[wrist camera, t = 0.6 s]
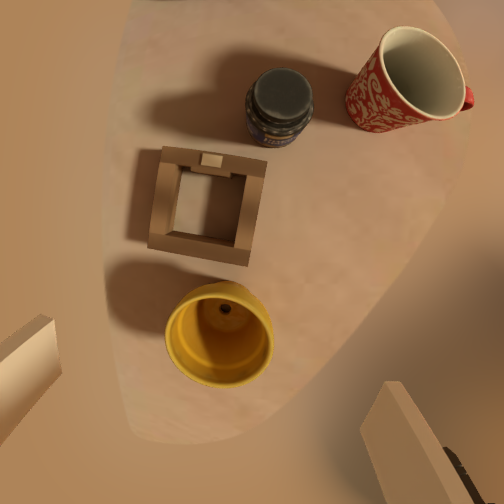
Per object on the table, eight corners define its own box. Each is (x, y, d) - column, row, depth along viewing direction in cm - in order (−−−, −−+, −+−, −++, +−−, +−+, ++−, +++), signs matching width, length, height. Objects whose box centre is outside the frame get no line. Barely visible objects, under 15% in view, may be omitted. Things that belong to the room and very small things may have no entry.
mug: (335, 134, 32) (381, 103, 18) (337, 66, 30) (375, 12, 17) (425, 153, 32) (494, 142, 18) (424, 90, 30) (485, 59, 17)
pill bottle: (262, 157, 32) (266, 141, 21) (237, 112, 31) (229, 78, 20) (310, 134, 32) (335, 110, 21) (284, 90, 31) (297, 49, 20)
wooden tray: (171, 150, 32) (161, 145, 28) (266, 164, 32) (267, 161, 29) (157, 242, 34) (146, 248, 30) (248, 259, 35) (247, 267, 31)
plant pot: (178, 331, 37) (157, 373, 27) (194, 255, 35) (173, 279, 25) (256, 351, 37) (257, 398, 27) (279, 278, 35) (289, 310, 25)
